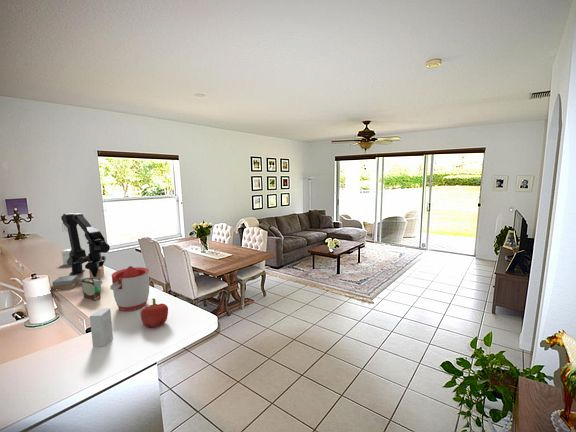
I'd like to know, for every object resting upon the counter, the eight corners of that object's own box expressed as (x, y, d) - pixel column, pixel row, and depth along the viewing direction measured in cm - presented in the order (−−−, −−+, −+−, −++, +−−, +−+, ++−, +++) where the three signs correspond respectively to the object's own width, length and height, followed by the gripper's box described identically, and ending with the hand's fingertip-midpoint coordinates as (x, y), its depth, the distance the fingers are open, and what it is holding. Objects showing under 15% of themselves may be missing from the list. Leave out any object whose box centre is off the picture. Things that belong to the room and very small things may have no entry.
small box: (79, 262, 204) (78, 248, 203) (72, 265, 199) (71, 250, 197) (69, 262, 205) (68, 248, 204) (62, 264, 199) (61, 250, 198)
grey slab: (60, 281, 162) (59, 276, 161) (78, 279, 165) (77, 275, 164) (52, 286, 153) (52, 282, 153) (72, 284, 156) (71, 280, 156)
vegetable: (141, 321, 119) (139, 299, 118) (167, 316, 124) (166, 294, 123) (141, 333, 109) (140, 309, 108) (170, 327, 114) (168, 304, 113)
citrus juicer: (102, 311, 128) (99, 269, 125) (135, 297, 144) (132, 260, 141) (126, 317, 122) (123, 274, 120) (158, 302, 138) (155, 263, 136)
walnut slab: (59, 284, 162) (58, 280, 162) (81, 282, 166) (80, 278, 166) (49, 291, 152) (49, 287, 152) (73, 289, 156) (73, 285, 155)
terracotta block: (93, 276, 176) (92, 267, 175) (104, 275, 178) (103, 266, 177) (89, 279, 170) (89, 269, 170) (101, 278, 172) (100, 268, 172)
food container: (108, 297, 144) (107, 278, 142) (96, 301, 138) (94, 282, 137) (94, 293, 149) (92, 275, 148) (81, 297, 143) (80, 278, 142)
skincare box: (101, 337, 106) (99, 308, 105) (113, 337, 107) (110, 307, 105) (91, 347, 100) (89, 316, 99) (104, 346, 101) (101, 315, 99)
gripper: (85, 248, 178) (87, 271, 180) (73, 255, 161) (75, 281, 163) (105, 247, 182) (106, 270, 184) (95, 254, 164) (97, 279, 166)
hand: (97, 275), depth 174 cm, fingers open, 8 cm apart
